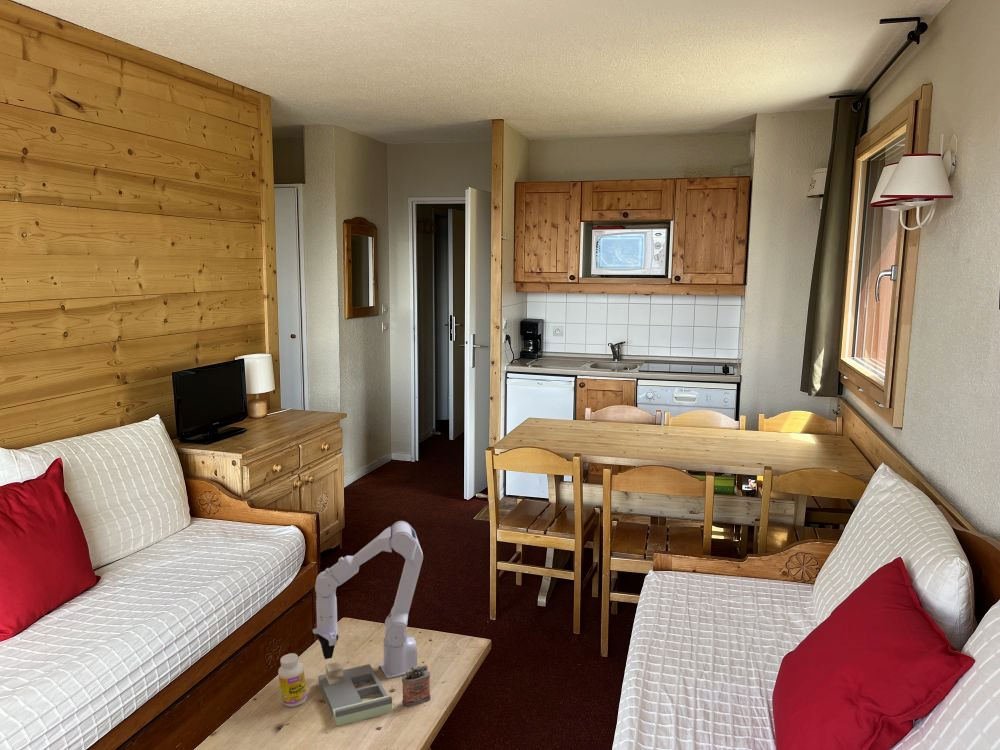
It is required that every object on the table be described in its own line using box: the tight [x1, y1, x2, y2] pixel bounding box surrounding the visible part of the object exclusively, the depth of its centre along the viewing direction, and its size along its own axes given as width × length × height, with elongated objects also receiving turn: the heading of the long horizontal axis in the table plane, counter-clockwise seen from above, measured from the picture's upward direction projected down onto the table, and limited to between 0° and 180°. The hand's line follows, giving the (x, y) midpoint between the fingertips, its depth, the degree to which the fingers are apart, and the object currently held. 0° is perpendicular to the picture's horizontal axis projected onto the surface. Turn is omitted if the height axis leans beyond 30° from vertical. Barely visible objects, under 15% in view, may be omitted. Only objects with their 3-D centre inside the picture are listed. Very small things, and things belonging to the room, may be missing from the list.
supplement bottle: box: [277, 652, 308, 708], centre depth 206 cm, size 7×7×13 cm
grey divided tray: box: [317, 663, 393, 727], centre depth 209 cm, size 15×22×4 cm
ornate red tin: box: [401, 664, 432, 708], centre depth 206 cm, size 8×3×10 cm, turn 117°
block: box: [325, 661, 344, 685], centre depth 213 cm, size 4×4×4 cm
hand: (328, 657), depth 219 cm, fingers closed
